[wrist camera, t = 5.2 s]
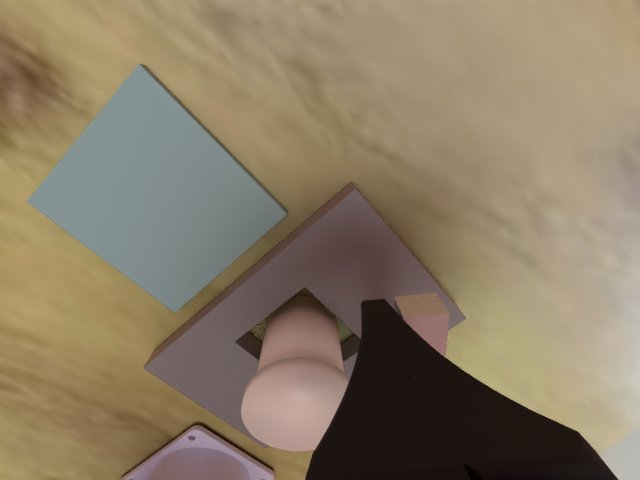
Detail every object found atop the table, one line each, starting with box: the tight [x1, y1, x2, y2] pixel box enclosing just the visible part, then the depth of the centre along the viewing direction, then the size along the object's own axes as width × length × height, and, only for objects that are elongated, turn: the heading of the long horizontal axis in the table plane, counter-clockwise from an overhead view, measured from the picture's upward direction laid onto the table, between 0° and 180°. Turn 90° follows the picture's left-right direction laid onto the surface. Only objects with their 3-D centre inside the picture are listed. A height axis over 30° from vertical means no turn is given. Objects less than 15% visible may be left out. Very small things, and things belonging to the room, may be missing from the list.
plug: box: [241, 296, 350, 451], centre depth 17 cm, size 5×5×6 cm
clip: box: [394, 293, 450, 357], centre depth 14 cm, size 14×2×1 cm, turn 5°
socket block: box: [144, 182, 466, 448], centre depth 19 cm, size 16×10×2 cm, turn 131°
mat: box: [27, 64, 288, 313], centre depth 16 cm, size 9×9×1 cm
